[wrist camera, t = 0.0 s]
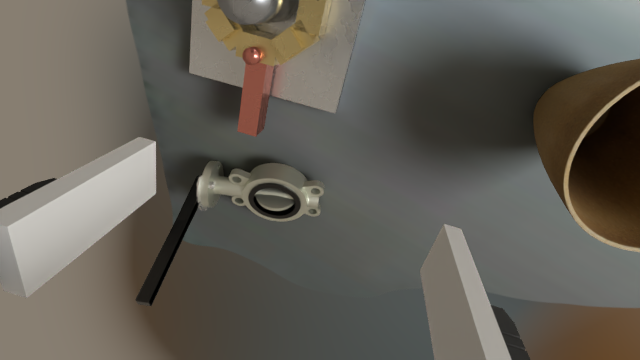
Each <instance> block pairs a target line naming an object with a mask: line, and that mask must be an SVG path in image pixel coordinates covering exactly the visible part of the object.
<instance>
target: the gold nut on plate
mask: <svg viewBox="0 0 640 360" xmlns="http://www.w3.org/2000/svg"><path fill="white" fill-rule="evenodd" d="M217 1H218V4H219V6H220V8H221V10H222V11H223V13H224V14H225V15H226V16H227V17H228V18H229V19H230V20H232V21H233V22H235V23H238V24H242V25H250V24H254V26H255V27H256V29H257V30H258V31H262V32H265V33H269V34H273V35H276V36H277V35H279V34H280V33H282V32H283V31H284V30H286V29H287V28H289V27H290V26H291V25H293V24H294V23H295V22H296V16H297V11H298V5H299V0H217ZM365 2H366V0H332V3H331V7H330V12H329V16H328V21H327V25H326V30H325V34H323V35H320V36H318V37H319V38H320V41H318V42H317V43H315V44H314V45H312V46H311V47H309V48H308V49H306V50H305V51H303V52H302V53H300V54H299V55H297V56H296V57H294V58H293V59H291V60H290V61H288V62H286V63H284V64H282V65H280V64H277V65H275V66H274V69H273V75H272V82H271V88H270V94H269V95H271V96H274V97H278V98H282V99H285V100H289V101H292V102H296V103H300V104H303V105H307V106H310V107H314V108H318V109H321V110H325V111H328V112H332V113H336V110H337V108H338V104H339V100H340V97H341V93H342V89H343V85H344V82H345V78H346V74H347V70H348V67H349V63H350V59H351V55H352V51H353V48H354V44H355V40H356V36H357V33H358V29H359V25H360V21H361V17H362V14H363V10H364V6H365ZM210 8H211V7H209V6H205V5H202V0H192V18H191V42H190V66H189V73H192V74H195V75H199V76H203V77H206V78H210V79H213V80H217V81H221V82H224V83H228V84H231V85H235V86H239V87H242V88H243V82H244V73H245V65H246V63H245V62H244V60H243V58H241V57H238V56H235V55H236V50H232V51H229V50H228V49H227V47H226V46H225V44H224V42H223V41H221V42H218V40H217V39H216V37H215V36H214V34H213V33H212V31H211V30H210V28H209V27H208V25H207V24H206V21H207V20H208V18H207V17H206V15H205V14H204V13H205V12H206V11H207V10H209V9H210Z"/></svg>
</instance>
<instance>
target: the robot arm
mask: <svg viewBox="0 0 640 360" xmlns="http://www.w3.org/2000/svg"><path fill="white" fill-rule="evenodd" d="M155 194H156V141H152V140H148V139H145V138H142V137H138V138H136V139H134V140H133V141H130V142H129V143H127V144H125V145H123V146H121V147H119V148H117V149H115V150H113V151H111V152H109V153H107V154H105V155H103V156H101V157H99V158H97V159H96V160H94V161H92V162H90V163H88V164H86V165H84V166H82V167H80V168H78V169H76V170H75V171H72V172H70V173H68V174H66V175H65V176H63V177H61V178H59V179H55V178H53V179H49V180H45V181H41V182H37V183H35V184H33V185H31V186H28V187H27V188H25V189H22V190H21V192H16V193H14V194H12V195H10V196H9V197H8V198H4V199H2V200H0V282H1V285H2V288H3V290H4V291H6V292H9V293H12V294H16V295H19V296H22V297H26V298H27V297H29V296H30V295H31V294H32V293H33V292H35V291H36V290H37V289H38V288H40V287H41V286H42V285H43V284H44V283H46V282H47V281H48V280H50V279H51V278H52V277H53V276H55V275H56V274H57V273H58V272H59V271H61V270H62V269H63V268H64V267H66V266H67V265H68V264H69V263H71V262H72V261H73V260H74V259H75V258H77V257H78V256H79V255H80V254H82V253H83V252H84V251H85V250H87V249H88V248H89V247H90V246H92V245H93V244H94V243H95V242H97V241H98V240H99V239H100V238H102V237H103V236H104V235H105V234H106V233H108V232H109V231H110V230H111V229H113V228H114V227H115V226H116V225H118V224H119V223H120V222H121V221H123V220H124V219H125V218H126V217H128V216H129V215H130V214H131V213H132V212H134V211H135V210H136V209H137V208H138V207H140V206H141V205H142V204H143V203H145V202H146V201H147V200H149V199H150V198H151V197H152V196H153V195H155ZM420 273H421V279H422V285H423V291H424V297H425V303H426V309H427V315H428V321H429V328H430V334H431V339H432V346H433V352H434V358H435V360H530V358H529V356H528V353H527V351H525V347H524V345H523V342H522V340H521V339H520V335H519V333H518V331H517V328H516V326H515V324H514V322H513V321H512V320H511V319H510V317H509V316H508V315H507V313H506V312H505V311H504V310H503V309H502V308H498V307H495V306H492V305H490V302H489V300H488V298H487V295H486V292H485V289H484V287H483V284H482V282H481V279H480V276H479V274H478V271H477V269H476V266H475V264H474V261H473V258H472V256H471V253H470V251H469V248H468V245H467V243H466V240H465V238H464V235H463V232H462V230H461V229H459V228H456V227H452V226H449V225H446V224H444V225H443V227H442V229H441V231H440V233H439V234H438V236H437V238H436V240H435V242H434V244H433V246H432V248H431V250H430V252H429V254H428V256H427V258H426V260H425V262H424V264H423V266H422V268H421V270H420Z"/></svg>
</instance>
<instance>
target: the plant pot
mask: <svg viewBox="0 0 640 360" xmlns="http://www.w3.org/2000/svg"><path fill="white" fill-rule="evenodd" d="M533 125H534V135H535V140H536V145H537V148H538V152H539V155H540V157H541V160H542V163H543V165H544V168H545V170H546V172H547V174H548V176H549V178H550V180H551V182H552V184H553V186H554V187H555V189H556V191H557V193H558V194H559V196H560V198H561V199H562V201H563V203H564V205H565V206H566V208H567V209H568V211H569V212H570V214H571V215H572V217H573V218H574V220H575V221H576V222H577V223H578V225H579V226H580V227H581V228H582V229H583V230H584V231H586V232H587V233H588V234H589V235H591V236H592V237H594V238H596V239H598V240H600V241H601V242H603V243H606V244H608V245H611V246H614V247H617V248H621V249H625V250H629V251H636V252H640V59H636V60H630V61H625V62H620V63H615V64H611V65H606V66H602V67H598V68H595V69H591V70H588V71H585V72H582V73H579V74H576V75H574V76H571V77H569V78H566V79H564V80H562V81H560V82H558V83H556V84H554V85H553V86H552V87H550V88H549V89H548V90H547V91H546V92H545V93H544V94H543V95H542V96H541V98H540V99H539V101H538V102H537V104H536V107H535V110H534V116H533Z"/></svg>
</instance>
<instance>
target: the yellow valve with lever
mask: <svg viewBox="0 0 640 360" xmlns="http://www.w3.org/2000/svg"><path fill="white" fill-rule="evenodd" d="M331 3H332V0H299V5H298V11H297V16H296V22H295V23H294V24H293V25H291V26H290V27H289V28H287V29H286V30H284V31H283V32H282V33H280V34H279V35H277V36H276V35H273V34H269V33H265V32H262V31H258V30H257V29H256V27H255V26H254V24H250V25H242V24H238V23H235V22H233V21H232V20H230V19H229V18H228V17H227V16H226V15H225V14H224V13H223V11H222V10H221V8H220V6H219V4H218V1H217V0H202V5H205V6H209V7H211V8H210V9H209V10H207V11H206V12H205V13H204V14H205V15H206V17H207V18H208V20H207V21H206V24H207V25H208V27H209V28H210V30H211V31H212V33H213V34H214V36H215V37H216V39H217V40H218V42H221V41H223V42H224V44H225V46H226V47H227V49H228V50H229V51H232V50H236V55H235V56H238V57H241V58H243V60H244V62H245V63H246V65H245V73H244V82H243V90H242V98H241V107H240V115H239V123H238V132H242V133H245V134H249V135H252V136H257V135H258V134H259V133H260V132H261V131H262V130H263V129H264V125H265V119H266V113H267V107H268V100H269V94H270V88H271V82H272V75H273V69H274V66H275V65H277V64H280V65H282V64H284V63H286V62H288V61H290V60H291V59H293V58H294V57H296V56H297V55H299V54H300V53H302V52H303V51H305V50H306V49H308V48H309V47H311V46H312V45H314V44H315V43H317V42H318V41H320V38H319V37H318V36H320V35H323V34H325V30H326V25H327V21H328V16H329V12H330V7H331Z"/></svg>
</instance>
